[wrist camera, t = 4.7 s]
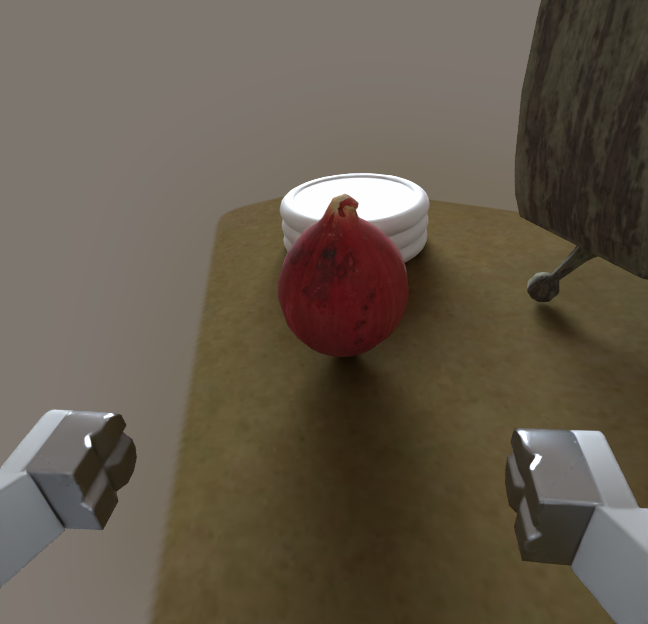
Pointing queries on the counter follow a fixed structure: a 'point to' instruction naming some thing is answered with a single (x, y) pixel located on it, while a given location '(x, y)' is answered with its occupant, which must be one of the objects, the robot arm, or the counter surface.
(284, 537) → the counter surface
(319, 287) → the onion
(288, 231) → the white round flat cylinder
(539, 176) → the tabletop clock
